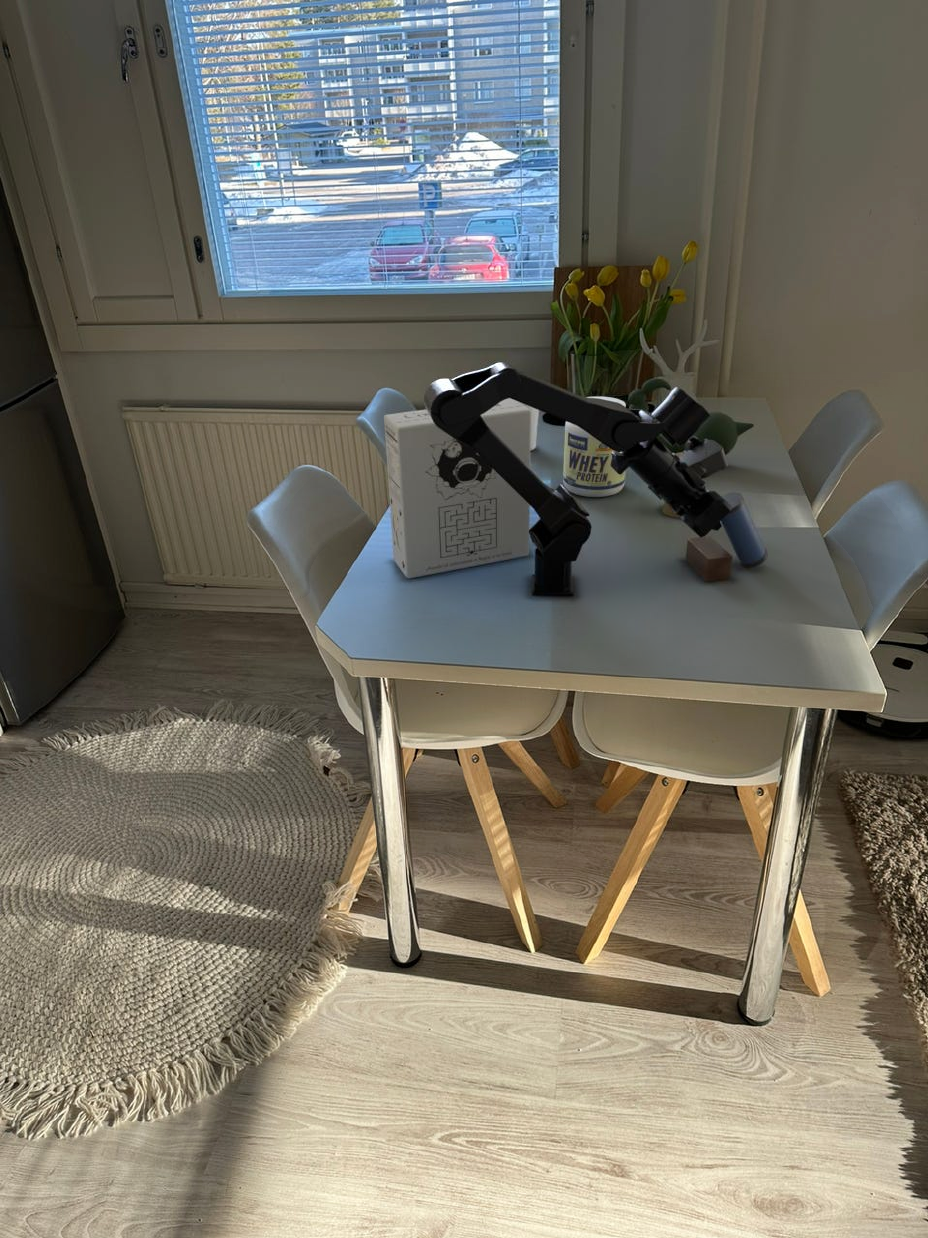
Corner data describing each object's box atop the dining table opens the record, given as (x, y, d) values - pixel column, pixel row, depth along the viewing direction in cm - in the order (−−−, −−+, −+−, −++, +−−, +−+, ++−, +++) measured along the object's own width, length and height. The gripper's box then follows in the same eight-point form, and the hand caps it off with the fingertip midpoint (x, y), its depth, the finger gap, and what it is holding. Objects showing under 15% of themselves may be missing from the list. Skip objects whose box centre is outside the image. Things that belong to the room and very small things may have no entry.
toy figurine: (628, 476, 184) (753, 471, 178) (626, 386, 175) (758, 378, 169) (630, 461, 192) (750, 456, 186) (628, 374, 183) (754, 366, 177)
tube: (701, 564, 138) (729, 495, 133) (689, 552, 142) (716, 484, 137) (765, 574, 141) (794, 507, 136) (751, 562, 145) (779, 497, 140)
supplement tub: (556, 495, 171) (559, 410, 162) (570, 474, 181) (573, 392, 172) (618, 502, 167) (624, 414, 159) (629, 480, 177) (635, 397, 169)
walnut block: (705, 582, 138) (708, 559, 136) (685, 560, 144) (687, 538, 142) (729, 579, 138) (732, 556, 136) (707, 558, 145) (710, 535, 143)
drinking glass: (503, 446, 197) (503, 379, 190) (530, 441, 200) (531, 375, 192) (517, 455, 192) (518, 386, 184) (544, 450, 194) (546, 382, 187)
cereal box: (511, 539, 153) (512, 397, 141) (529, 556, 147) (531, 409, 135) (393, 560, 147) (383, 414, 134) (407, 579, 141) (397, 427, 128)
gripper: (726, 446, 121) (787, 512, 128) (672, 409, 137) (730, 470, 144) (667, 505, 124) (731, 567, 131) (621, 462, 140) (680, 519, 147)
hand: (718, 527), depth 138 cm, fingers closed, pressing on tube
